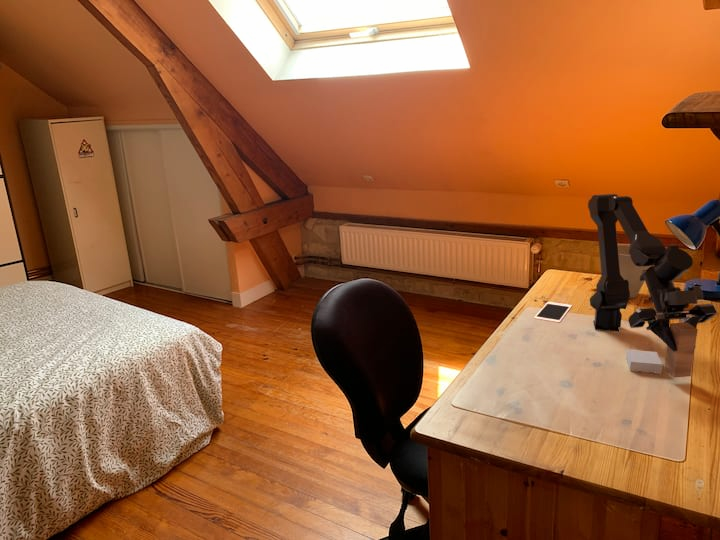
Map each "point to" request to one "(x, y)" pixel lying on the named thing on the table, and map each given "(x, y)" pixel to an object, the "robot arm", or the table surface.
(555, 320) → the cell phone
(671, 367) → the walnut block
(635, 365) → the base
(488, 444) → the table surface
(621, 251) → the plant pot
